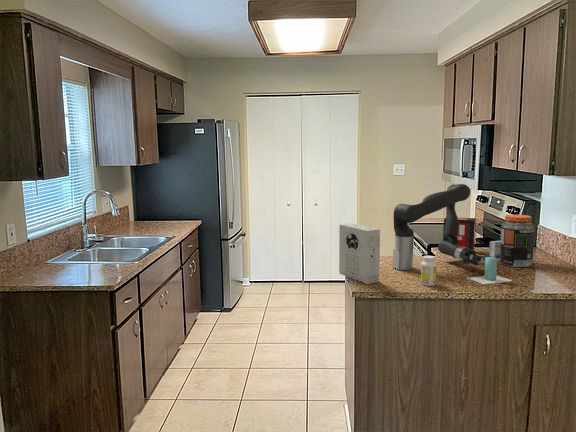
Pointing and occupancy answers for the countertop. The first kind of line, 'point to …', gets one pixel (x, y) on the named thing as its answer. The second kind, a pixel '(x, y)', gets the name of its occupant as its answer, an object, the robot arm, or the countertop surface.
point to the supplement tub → (517, 241)
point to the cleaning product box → (465, 232)
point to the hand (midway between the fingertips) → (485, 262)
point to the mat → (482, 280)
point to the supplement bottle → (428, 271)
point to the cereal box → (359, 252)
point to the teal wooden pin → (490, 268)
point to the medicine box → (494, 248)
